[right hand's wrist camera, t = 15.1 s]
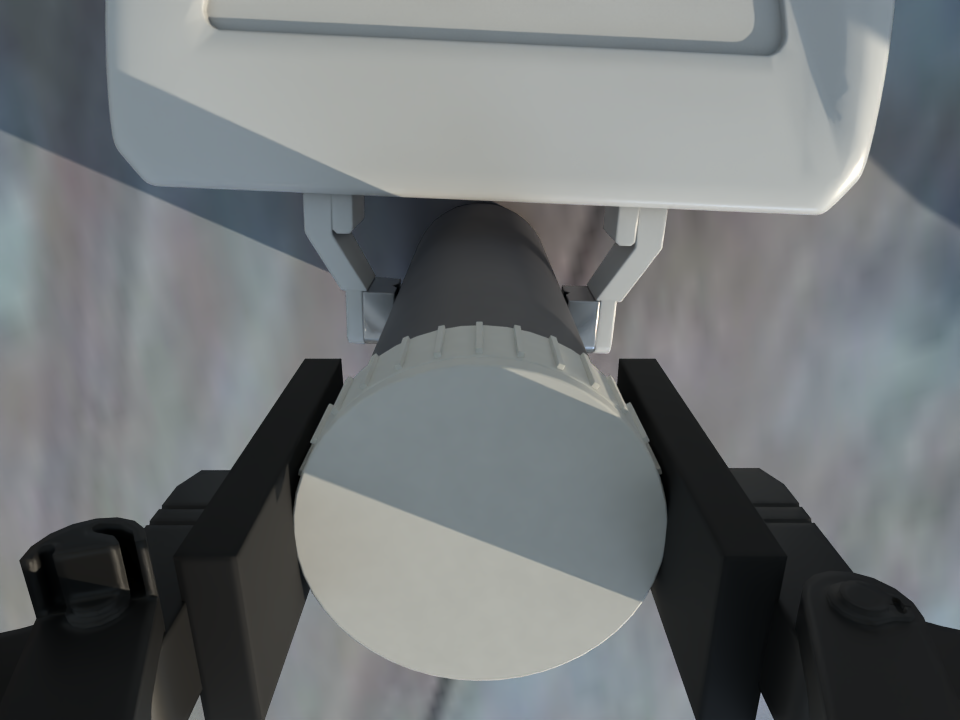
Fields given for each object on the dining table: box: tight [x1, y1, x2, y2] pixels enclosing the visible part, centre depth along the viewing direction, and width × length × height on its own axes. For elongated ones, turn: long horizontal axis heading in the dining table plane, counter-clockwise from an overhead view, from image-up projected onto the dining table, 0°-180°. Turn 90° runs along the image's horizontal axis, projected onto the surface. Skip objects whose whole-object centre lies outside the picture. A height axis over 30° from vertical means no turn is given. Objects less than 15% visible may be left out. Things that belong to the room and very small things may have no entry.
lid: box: [293, 322, 667, 681], centre depth 11 cm, size 6×6×2 cm
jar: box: [372, 203, 592, 364], centre depth 19 cm, size 5×5×17 cm
